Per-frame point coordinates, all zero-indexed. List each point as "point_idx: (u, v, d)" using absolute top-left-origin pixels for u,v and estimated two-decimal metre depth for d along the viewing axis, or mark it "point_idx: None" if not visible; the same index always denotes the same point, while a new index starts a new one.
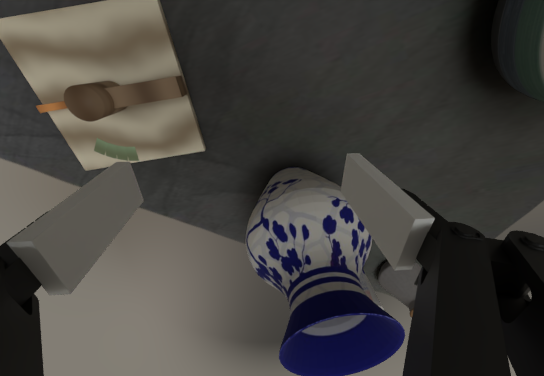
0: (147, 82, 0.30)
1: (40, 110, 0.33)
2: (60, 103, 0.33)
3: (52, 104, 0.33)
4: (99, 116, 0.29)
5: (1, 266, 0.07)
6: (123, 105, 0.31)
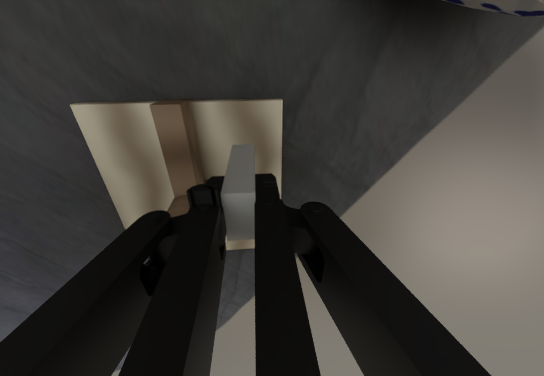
0: (162, 147, 0.21)
1: None
2: None
3: None
4: None
5: (219, 217, 0.09)
6: None
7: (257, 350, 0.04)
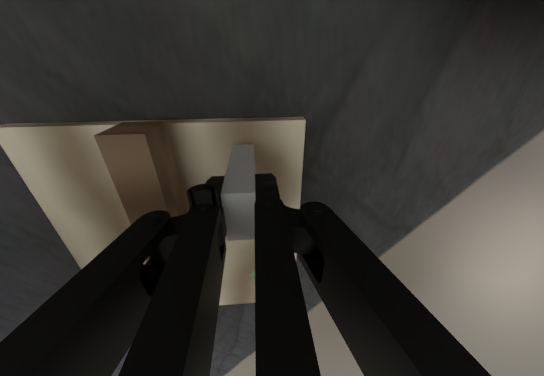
0: (122, 197, 0.13)
1: None
2: None
3: None
4: None
5: (219, 217, 0.09)
6: None
7: (257, 350, 0.04)
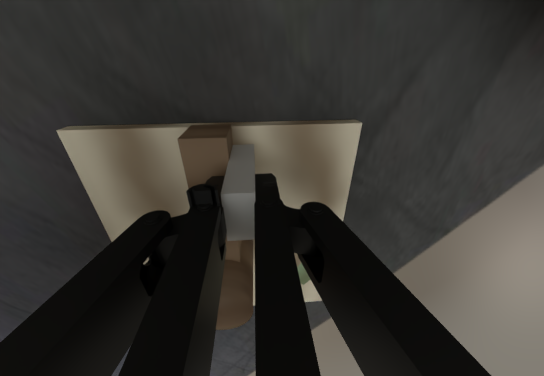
0: None
1: None
2: None
3: None
4: (245, 300, 0.15)
5: (219, 217, 0.09)
6: (236, 249, 0.16)
7: (257, 350, 0.04)
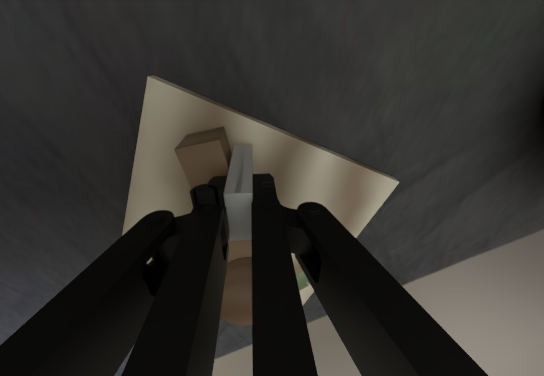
0: None
1: None
2: None
3: None
4: None
5: (222, 217, 0.09)
6: (251, 245, 0.16)
7: (254, 351, 0.04)
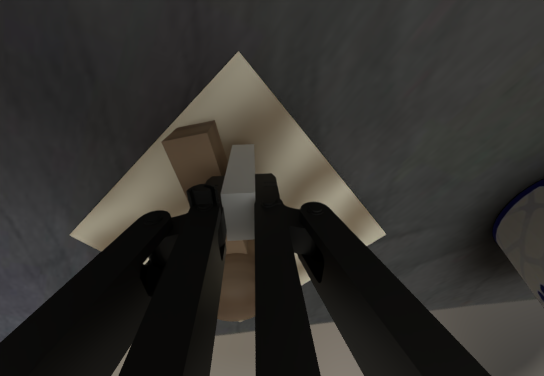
0: None
1: None
2: None
3: None
4: None
5: (219, 217, 0.09)
6: (240, 241, 0.16)
7: (257, 350, 0.04)
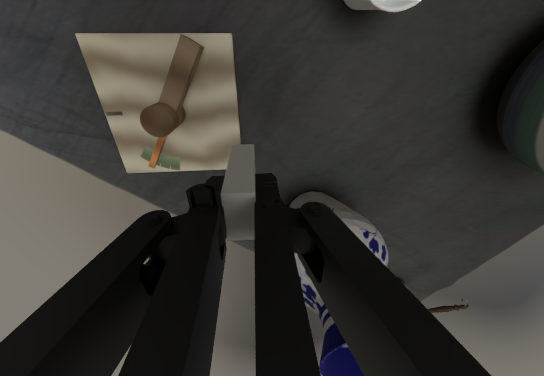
0: (172, 63, 0.30)
1: (152, 166, 0.40)
2: (155, 150, 0.39)
3: (153, 155, 0.39)
4: (171, 121, 0.31)
5: (219, 217, 0.09)
6: (177, 102, 0.32)
7: (257, 350, 0.04)
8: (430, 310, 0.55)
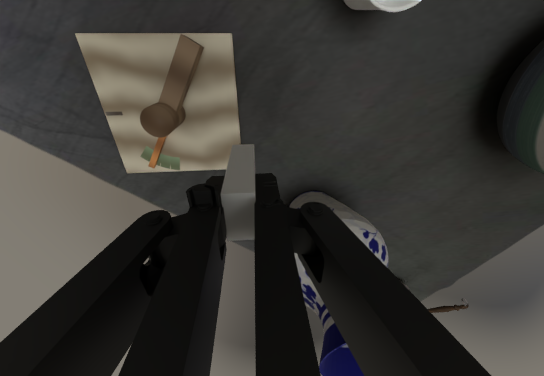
0: (172, 63, 0.30)
1: (152, 166, 0.40)
2: (155, 150, 0.39)
3: (153, 155, 0.39)
4: (171, 121, 0.31)
5: (219, 217, 0.09)
6: (177, 102, 0.32)
7: (257, 350, 0.04)
8: (430, 310, 0.55)
